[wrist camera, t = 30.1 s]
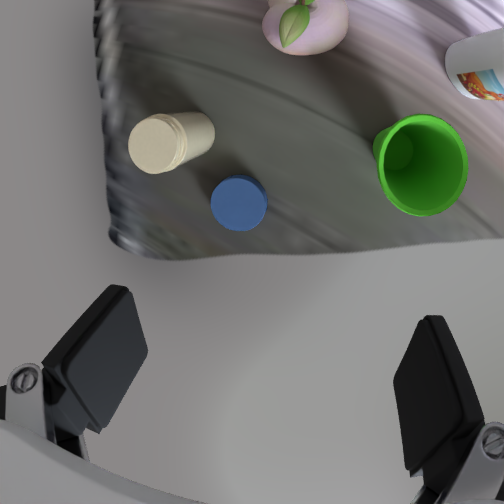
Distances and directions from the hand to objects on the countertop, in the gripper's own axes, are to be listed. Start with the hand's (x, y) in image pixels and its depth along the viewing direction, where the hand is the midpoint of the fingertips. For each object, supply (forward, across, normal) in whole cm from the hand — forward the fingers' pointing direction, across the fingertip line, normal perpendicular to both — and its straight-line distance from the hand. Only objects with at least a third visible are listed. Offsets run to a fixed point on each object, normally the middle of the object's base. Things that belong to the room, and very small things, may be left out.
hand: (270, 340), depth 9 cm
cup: (+28, -11, -3) cm, 31 cm away
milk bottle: (+28, -21, -16) cm, 39 cm away
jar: (+28, +13, -4) cm, 31 cm away
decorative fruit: (+28, -1, -17) cm, 33 cm away
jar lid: (+27, +7, +5) cm, 28 cm away
